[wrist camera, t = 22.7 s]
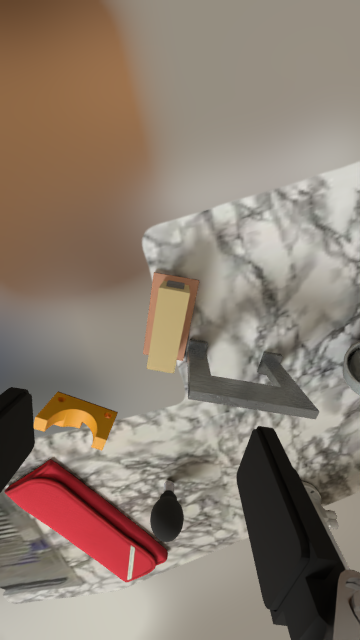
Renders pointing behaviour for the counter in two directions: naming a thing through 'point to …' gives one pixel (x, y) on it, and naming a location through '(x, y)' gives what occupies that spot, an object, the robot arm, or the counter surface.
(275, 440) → the robot arm
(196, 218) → the counter surface
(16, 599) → the counter surface
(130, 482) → the counter surface
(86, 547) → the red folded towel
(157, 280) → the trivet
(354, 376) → the ceramic mug
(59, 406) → the pipe clamp
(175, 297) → the tan rectangular block
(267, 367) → the grey u-shaped piece
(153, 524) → the black rubber blower bulb
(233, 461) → the counter surface
